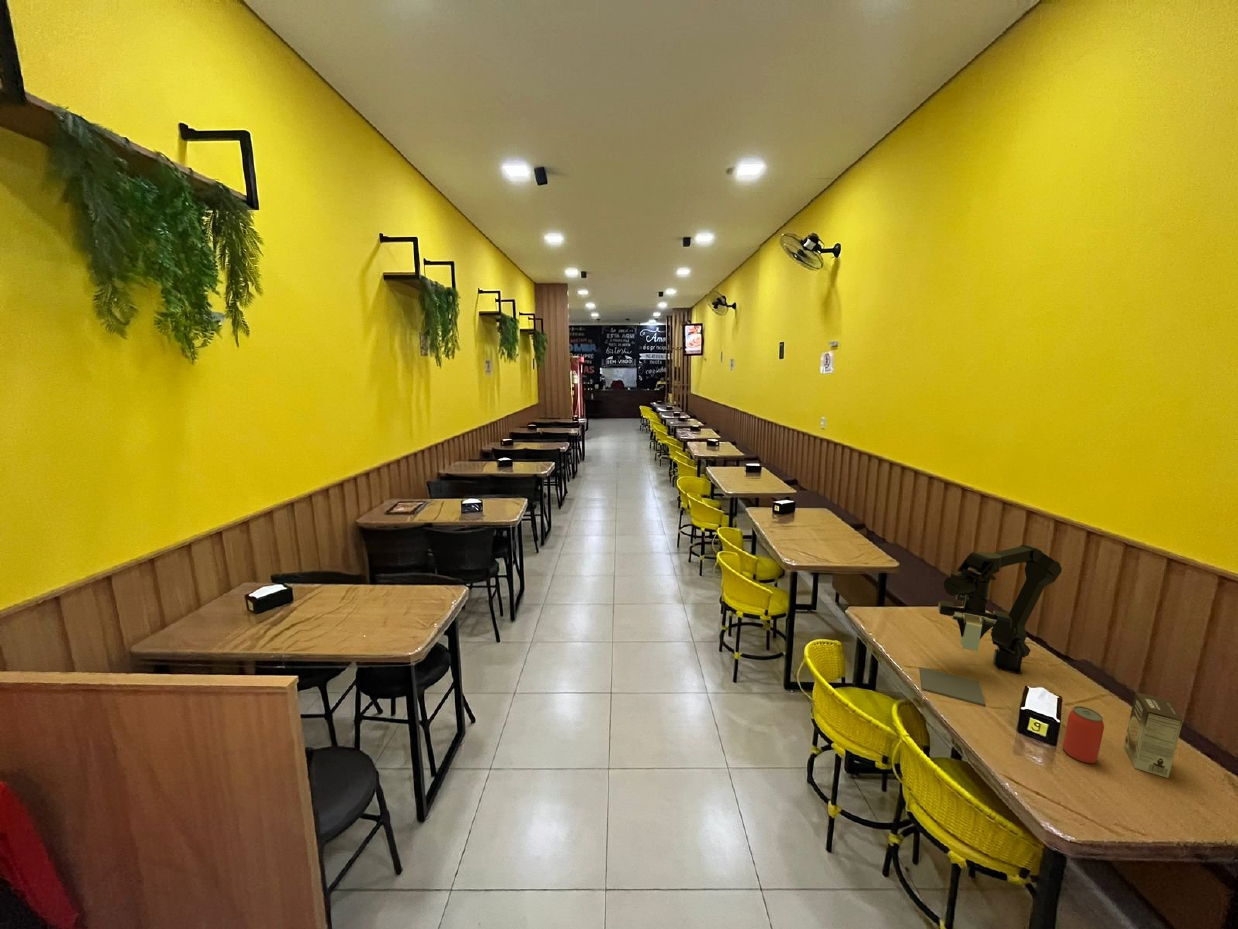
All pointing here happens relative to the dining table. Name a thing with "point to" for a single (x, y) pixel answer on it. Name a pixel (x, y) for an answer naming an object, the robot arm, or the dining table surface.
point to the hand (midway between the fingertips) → (970, 638)
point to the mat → (951, 686)
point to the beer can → (1083, 734)
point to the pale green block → (971, 633)
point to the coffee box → (1152, 734)
